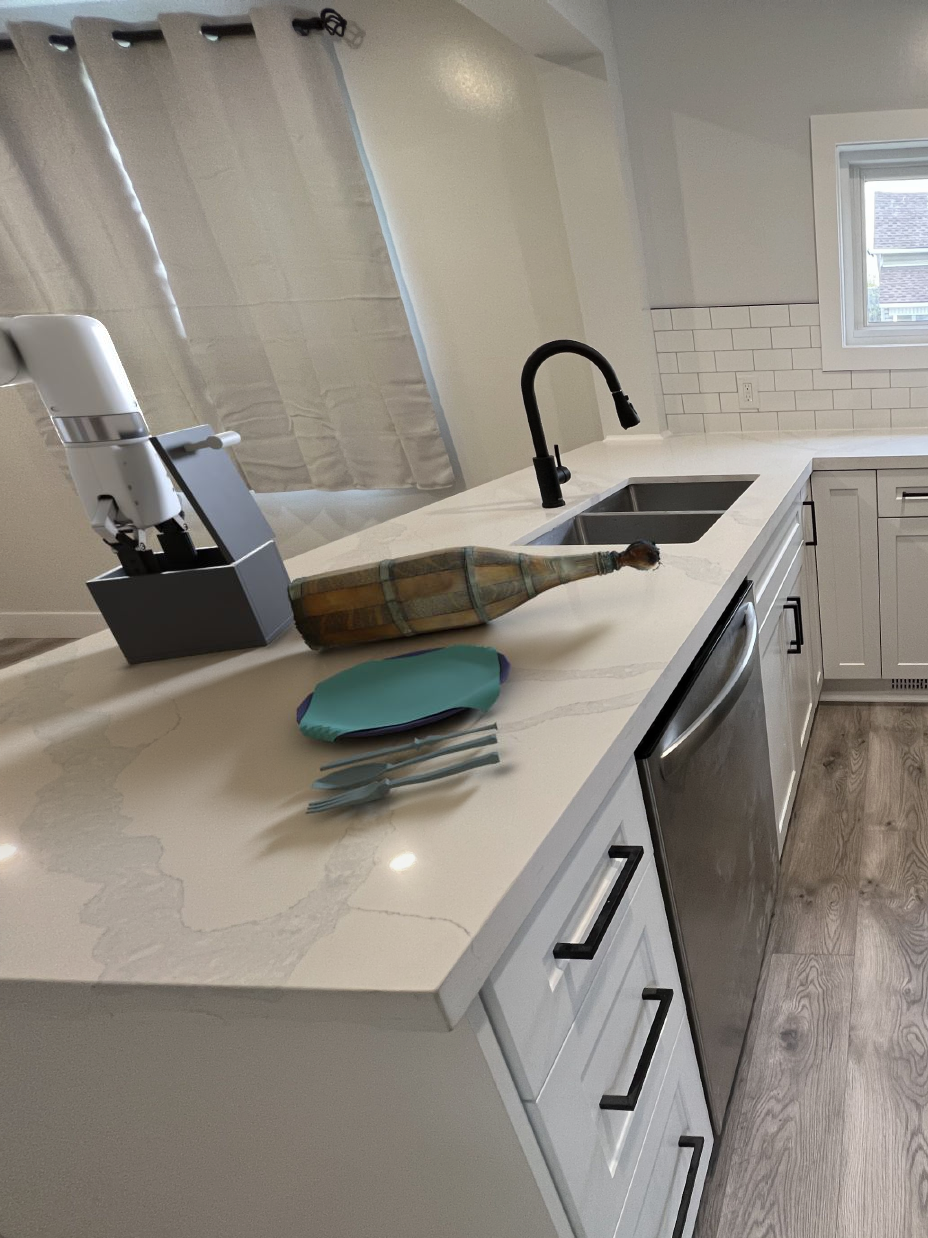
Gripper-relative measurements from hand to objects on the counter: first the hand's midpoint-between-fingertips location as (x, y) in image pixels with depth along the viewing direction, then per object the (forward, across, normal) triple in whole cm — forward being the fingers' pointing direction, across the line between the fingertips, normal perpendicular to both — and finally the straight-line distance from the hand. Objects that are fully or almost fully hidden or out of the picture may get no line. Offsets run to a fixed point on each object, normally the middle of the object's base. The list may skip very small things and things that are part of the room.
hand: (167, 571), depth 89 cm
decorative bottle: (+9, +9, +39) cm, 41 cm away
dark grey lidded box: (+9, 0, +3) cm, 10 cm away
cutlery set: (+9, +36, +33) cm, 50 cm away
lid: (-9, 0, +8) cm, 12 cm away
